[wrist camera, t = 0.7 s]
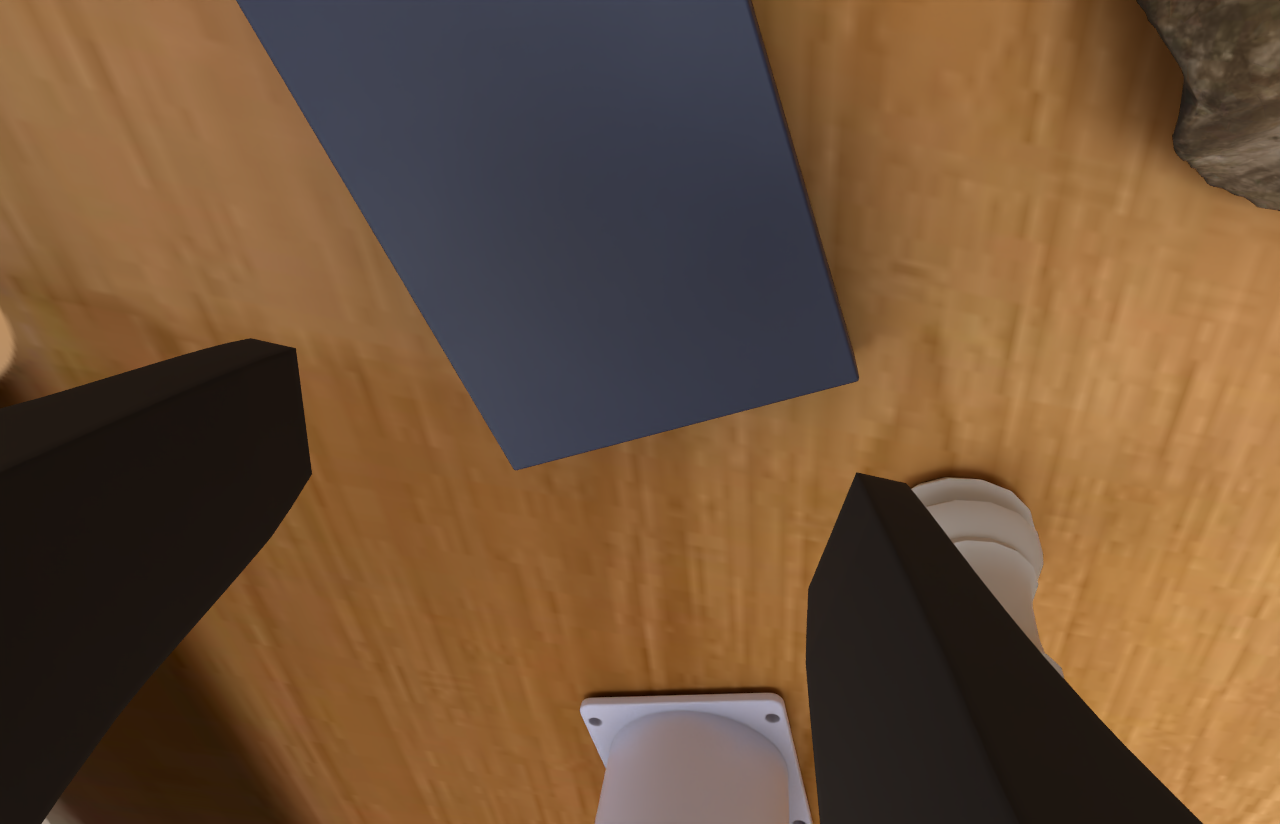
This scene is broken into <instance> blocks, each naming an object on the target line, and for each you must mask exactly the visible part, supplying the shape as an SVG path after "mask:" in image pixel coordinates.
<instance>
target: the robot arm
mask: <svg viewBox="0 0 1280 824" xmlns="http://www.w3.org/2000/svg"><path fill="white" fill-rule="evenodd" d="M311 475H312V470H311V463H310V455H309V447H308V439H307V432H306V424H305V416H304V408H303V401H302V393H301V385H300V377H299V370H298V362H297V354H296V348H292V347H287V346H283V345H278V344H274V343H269V342H265V341H260V340H256V339H251V338H250V339H245V340H240V341H235V342H230V343H226V344H222V345H218V346H214V347H210V348H206V349H203V350H199V351H196V352H192V353H189V354H185V355H182V356H178V357H175V358H171V359H168V360H165V361H161V362H158V363H155V364H151V365H148V366H145V367H141V368H138V369H135V370H131V371H128V372H125V373H122V374H118V375H115V376H112V377H108V378H105V379H102V380H98V381H95V382H92V383H88V384H85V385H82V386H79V387H75V388H72V389H69V390H65V391H62V392H59V393H55V394H52V395H48V396H45V397H41V398H38V399H34V400H30V401H27V402H23V403H20V404H16V405H12V406H9V407H5V408H1V409H0V824H42V822H43V821H44V819H45V818H46V816H47V815H48V813H49V812H50V810H51V809H52V807H53V806H54V805H55V803H56V802H57V800H58V799H59V797H60V796H61V794H62V793H63V792H64V790H65V789H66V787H67V786H68V785H69V783H70V782H71V780H72V779H73V778H74V776H75V775H76V774H77V772H78V771H79V769H80V768H81V767H82V765H83V764H84V762H85V761H86V760H87V758H88V757H89V755H90V754H91V753H92V751H93V750H94V749H95V747H96V746H97V744H98V743H99V742H100V740H101V739H102V737H103V736H104V735H105V733H106V732H107V730H108V729H109V728H110V726H111V725H112V724H113V722H114V721H115V719H116V718H117V717H118V715H119V714H120V713H121V712H122V710H123V709H124V708H125V707H126V706H127V704H128V703H129V702H130V701H131V699H132V698H133V697H134V696H135V694H136V693H137V692H138V691H139V689H140V688H141V687H142V686H143V685H144V683H145V682H146V681H147V680H148V679H149V677H150V676H151V675H152V674H153V673H154V672H155V671H156V669H157V668H158V667H159V666H160V665H161V664H162V663H163V661H164V660H165V659H166V658H167V657H168V656H169V655H170V653H171V652H172V651H173V650H174V649H175V648H176V647H177V645H178V644H179V643H180V642H181V641H182V640H183V639H184V637H185V636H186V635H187V634H188V633H189V632H190V631H191V629H192V628H193V627H194V626H195V625H196V624H197V623H198V621H199V620H200V619H201V618H202V617H203V616H204V615H205V613H206V612H207V611H208V610H209V609H210V608H211V607H212V605H213V604H214V603H215V602H216V601H217V600H218V599H219V597H220V596H221V595H222V594H223V593H224V592H225V591H226V589H227V588H228V587H229V586H230V585H231V584H232V582H233V581H234V580H235V579H236V578H237V577H238V576H239V574H240V573H241V572H242V571H243V570H244V569H245V567H246V566H247V565H248V564H249V563H250V562H251V560H252V559H253V558H254V557H255V556H256V555H257V553H258V552H259V551H260V550H261V549H262V547H263V546H264V545H265V544H266V543H267V541H268V540H269V539H270V538H271V537H272V535H273V534H274V532H275V531H276V529H277V528H278V526H279V525H280V523H281V522H282V520H283V519H284V517H285V516H286V514H287V513H288V511H289V510H290V509H291V507H292V505H293V504H294V502H295V500H296V499H297V497H298V496H299V494H300V492H301V491H302V489H303V488H304V486H305V484H306V483H307V481H308V480H309V478H310V476H311ZM806 671H807V684H808V696H809V707H810V719H811V730H812V741H813V751H814V762H815V773H816V783H817V794H818V805H819V816H820V824H1203V823H1202V822H1201V821H1200V820H1199V819H1198V818H1197V817H1196V816H1195V815H1194V814H1193V813H1192V812H1191V811H1190V810H1189V809H1188V808H1187V807H1186V806H1185V805H1184V804H1183V803H1182V802H1181V801H1180V800H1179V799H1178V798H1177V797H1176V796H1175V795H1174V794H1173V793H1172V792H1171V791H1170V790H1169V789H1168V788H1167V787H1166V786H1165V785H1164V784H1163V783H1162V782H1161V781H1160V780H1159V779H1158V778H1157V777H1156V776H1155V775H1154V774H1153V773H1152V772H1151V771H1150V770H1149V769H1148V768H1147V767H1146V766H1145V765H1144V764H1143V763H1142V762H1141V761H1140V760H1139V759H1138V758H1137V757H1136V756H1135V755H1134V754H1133V753H1132V752H1131V751H1130V750H1129V749H1128V748H1127V747H1126V746H1125V745H1124V744H1123V743H1122V742H1121V741H1120V740H1119V739H1118V738H1117V737H1116V736H1115V735H1114V733H1113V732H1112V731H1111V730H1110V729H1109V728H1108V727H1107V726H1106V725H1105V724H1104V723H1103V722H1102V721H1101V720H1100V719H1099V718H1098V716H1097V715H1096V714H1095V713H1094V712H1093V711H1092V710H1091V709H1090V708H1089V707H1088V705H1087V704H1086V703H1085V702H1084V701H1083V700H1082V699H1081V697H1080V696H1079V695H1078V694H1077V693H1076V692H1075V691H1074V690H1073V688H1072V687H1071V686H1070V685H1069V684H1068V683H1067V682H1066V681H1065V679H1064V678H1063V677H1062V676H1061V675H1060V674H1059V673H1058V672H1057V670H1056V669H1055V668H1054V667H1053V666H1052V665H1051V664H1050V662H1049V661H1048V660H1047V659H1046V658H1045V657H1044V656H1043V654H1042V653H1041V652H1040V651H1039V650H1038V648H1037V647H1036V646H1035V645H1034V644H1033V643H1032V641H1031V640H1030V639H1029V638H1028V637H1027V635H1026V634H1025V633H1024V632H1023V631H1022V629H1021V628H1020V627H1019V626H1018V625H1017V623H1016V622H1015V621H1014V620H1013V618H1012V617H1011V616H1010V615H1009V614H1008V612H1007V611H1006V610H1005V609H1004V607H1003V606H1002V605H1001V604H1000V602H999V601H998V600H997V599H996V597H995V596H994V595H993V594H992V592H991V591H990V590H989V589H988V587H987V586H986V585H985V584H984V582H983V581H982V580H981V578H980V577H979V576H978V575H977V573H976V572H975V571H974V569H973V568H972V567H971V566H970V564H969V563H968V562H967V560H966V559H965V558H964V557H963V555H962V554H961V553H960V551H959V550H958V549H957V547H956V546H955V545H954V543H953V542H952V541H951V540H950V538H949V537H948V536H947V534H946V533H945V532H944V530H943V529H942V528H941V526H940V525H939V524H938V523H937V521H936V520H935V519H934V517H933V516H932V515H931V513H930V512H929V511H928V509H927V508H926V507H925V506H924V504H923V503H922V502H921V501H920V499H919V498H918V497H917V496H916V494H915V493H914V492H913V491H912V490H911V488H910V487H909V486H908V485H907V484H906V483H902V482H897V481H893V480H888V479H884V478H879V477H875V476H870V475H866V474H861V473H857V472H856V475H855V477H854V480H853V482H852V485H851V487H850V489H849V492H848V494H847V497H846V499H845V501H844V504H843V506H842V509H841V511H840V514H839V516H838V518H837V521H836V523H835V526H834V528H833V530H832V533H831V535H830V538H829V540H828V543H827V545H826V547H825V550H824V552H823V555H822V557H821V559H820V562H819V564H818V567H817V569H816V571H815V574H814V576H813V579H812V581H811V584H810V586H809V589H808V610H807V635H806ZM580 713H581V715H582V718H583V720H584V722H585V724H586V726H587V728H588V731H589V733H590V735H591V737H592V739H593V742H594V744H595V746H596V748H597V750H598V752H599V755H600V757H601V759H602V761H603V763H604V765H605V768H606V772H605V776H604V781H603V786H602V791H601V796H600V800H599V805H598V810H597V815H596V820H595V824H813V822H812V817H811V813H810V809H809V805H808V801H807V796H806V792H805V788H804V784H803V779H802V775H801V771H800V767H799V763H798V758H797V754H796V750H795V746H794V742H793V737H792V733H791V729H790V725H789V720H788V716H787V712H786V708H785V704H784V700H783V699H782V697H780V696H779V695H777V694H774V693H736V694H701V695H666V696H631V697H596V698H587V699H585V700H583V701H582V704H581V707H580Z"/></svg>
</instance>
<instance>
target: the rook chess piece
mask: <svg viewBox="0 0 1280 824" xmlns="http://www.w3.org/2000/svg"><path fill="white" fill-rule="evenodd" d="M911 490H912V491H913V492H914V493H915V494H916V496H917V497H918V498H919V499H920V501H921V502H922V503H923V504H924V506H925V507H926V508H927V509H928V511H929V512H930V513H931V515H932V516H933V517H934V519H935V520H936V521H937V523H938V524H939V525H940V526H941V528H942V529H943V530H944V532H945V533H946V534H947V536H948V537H949V538H950V540H951V541H952V542H953V543H954V545H955V546H956V547H957V549H958V550H959V551H960V553H961V554H962V555H963V557H964V558H965V559H966V560H967V562H968V563H969V564H970V566H971V567H972V568H973V569H974V571H975V572H976V573H977V575H978V576H979V577H980V578H981V580H982V581H983V582H984V584H985V585H986V586H987V587H988V589H989V590H990V591H991V592H992V594H993V595H994V596H995V597H996V599H997V600H998V601H999V602H1000V604H1001V605H1002V606H1003V607H1004V609H1005V610H1006V611H1007V612H1008V614H1009V615H1010V616H1011V617H1012V618H1013V620H1014V621H1015V622H1016V623H1017V625H1018V626H1019V627H1020V628H1021V629H1022V631H1023V632H1024V633H1025V634H1026V635H1027V637H1028V638H1029V639H1030V640H1031V641H1032V643H1033V644H1034V645H1035V646H1036V647H1037V648H1038V650H1039V651H1040V652H1041V653H1042V654H1043V656H1044V657H1045V658H1046V659H1047V660H1048V661H1049V662H1050V664H1051V665H1052V666H1053V667H1054V668H1055V669H1056V670H1057V672H1058V673H1059V674H1060V675H1061V676H1062V677H1063V678H1064V676H1063V672H1062V668H1061V667H1060V666H1059V665H1058V664H1057V663H1056V662H1055V661H1053V660H1052V659H1051V658H1050V657H1049V656H1048V655H1047V654H1045V652H1044V650H1043V647H1042V645H1041V642H1040V640H1039V635H1038V630H1037V626H1036V621H1035V616H1034V611H1033V599H1034V596H1035V593H1036V590H1037V587H1038V582H1037V581H1038V578H1039V576H1040V573H1041V570H1042V567H1043V552H1042V548H1041V544H1040V541H1039V537H1038V533H1037V531H1036V530H1035V528H1034V524H1033V520H1032V516H1031V512H1030V509H1029V508H1028V507H1027V506H1026V505H1025V504H1024V503H1023V502H1022V501H1021V500H1020V499H1019V498H1018V497H1017V496H1016V495H1015V494H1014V493H1013V492H1012V491H1010V490H1007V489H1004V488H1002V487H999V486H997V485H994V484H992V483H989V482H987V481H984V480H980V479H973V478H954V477H944V478H940V479H936V480H932V481H928V482H924V483H920V484H918V485H916V486H915V487H913V488H911Z"/></svg>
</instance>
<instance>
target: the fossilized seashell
mask: <svg viewBox="0 0 1280 824" xmlns="http://www.w3.org/2000/svg"><path fill="white" fill-rule="evenodd" d="M1137 3H1138V4H1139V5H1140V6H1141V8H1142V9H1143V10H1144V11H1145V13H1146V15H1147V18H1148V21H1149V22H1150V23H1151V24H1152V25H1153V26H1154V27H1155V28H1156V30H1157V32H1158V34H1159V35H1160V37H1161V39H1162V40H1163V42H1164V43H1165V45H1166V46H1167V48H1168V49H1169V50H1170V52H1171V54H1172V55H1173V57H1174V58H1175V60H1176V61H1177V63H1178V64H1179V66H1180V68H1181V69H1182V73H1183V76H1184V84H1183V91H1182V98H1181V105H1180V112H1179V117H1178V120H1177V124H1176V127H1175V130H1174V133H1173V135H1172V137H1173V145H1174V150H1175V152H1176V154H1177V155H1178V156H1179V157H1180V158H1181V159H1182V160H1183V161H1187V162H1188V163H1189V165H1190V167H1191V168H1195V169H1196V170H1197V172H1198V173H1199V174H1200V175H1201V177H1204V179H1205V181H1206V183H1207V184H1209V185H1211V186H1213V187H1220V188H1223V189H1225V190H1227V191H1229V192H1230V193H1232V194H1234V195H1237V196H1241V197H1245V198H1246V199H1248V200H1249V201H1251V202H1252V203H1254V204H1255V205H1256V206H1257V207H1260V208H1266V209H1273V210H1278V211H1280V0H1137Z"/></svg>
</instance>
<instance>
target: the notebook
mask: <svg viewBox="0 0 1280 824" xmlns="http://www.w3.org/2000/svg"><path fill="white" fill-rule="evenodd" d="M236 1H237V3H238V4H239V6H240V8H241V9H242V11H243V13H244V14H245V16H246V18H247V19H248V21H249V23H250V25H251V26H252V28H253V30H254V31H255V33H256V35H257V36H258V38H259V40H260V41H261V43H262V45H263V47H264V48H265V50H266V52H267V53H268V55H269V57H270V58H271V60H272V62H273V63H274V65H275V67H276V68H277V70H278V72H279V74H280V75H281V77H282V79H283V80H284V82H285V84H286V85H287V87H288V89H289V90H290V92H291V94H292V95H293V97H294V99H295V101H296V102H297V104H298V106H299V107H300V109H301V111H302V112H303V114H304V116H305V117H306V119H307V121H308V123H309V124H310V126H311V128H312V129H313V131H314V133H315V134H316V136H317V138H318V139H319V141H320V143H321V144H322V146H323V148H324V150H325V151H326V153H327V155H328V156H329V158H330V160H331V161H332V163H333V165H334V166H335V168H336V170H337V172H338V173H339V175H340V177H341V178H342V180H343V182H344V183H345V185H346V187H347V188H348V190H349V192H350V193H351V195H352V197H353V199H354V200H355V202H356V204H357V205H358V207H359V209H360V210H361V212H362V214H363V215H364V217H365V219H366V220H367V222H368V224H369V226H370V227H371V229H372V231H373V232H374V234H375V236H376V237H377V239H378V241H379V242H380V244H381V246H382V248H383V249H384V251H385V253H386V254H387V256H388V258H389V259H390V261H391V263H392V264H393V266H394V268H395V269H396V271H397V273H398V275H399V276H400V278H401V280H402V281H403V283H404V285H405V286H406V288H407V290H408V291H409V293H410V295H411V297H412V298H413V300H414V302H415V303H416V305H417V307H418V308H419V310H420V312H421V313H422V315H423V317H424V318H425V320H426V322H427V324H428V325H429V327H430V329H431V330H432V332H433V334H434V335H435V337H436V339H437V340H438V342H439V344H440V345H441V347H442V349H443V351H444V352H445V354H446V356H447V357H448V359H449V361H450V362H451V364H452V366H453V367H454V369H455V371H456V373H457V374H458V376H459V378H460V379H461V381H462V383H463V384H464V386H465V388H466V389H467V391H468V393H469V394H470V396H471V398H472V400H473V401H474V403H475V405H476V406H477V408H478V410H479V411H480V413H481V415H482V416H483V418H484V420H485V422H486V423H487V425H488V427H489V428H490V430H491V432H492V433H493V435H494V437H495V438H496V440H497V442H498V443H499V445H500V447H501V449H502V450H503V452H504V454H505V455H506V457H507V459H508V460H509V462H510V464H511V465H512V467H513V469H514V470H519V469H523V468H527V467H531V466H535V465H539V464H542V463H546V462H550V461H554V460H558V459H562V458H565V457H569V456H573V455H577V454H581V453H585V452H588V451H592V450H596V449H600V448H604V447H607V446H611V445H615V444H619V443H623V442H627V441H630V440H634V439H638V438H642V437H646V436H650V435H653V434H657V433H661V432H665V431H669V430H673V429H676V428H680V427H684V426H688V425H692V424H696V423H699V422H703V421H707V420H711V419H715V418H719V417H722V416H726V415H730V414H734V413H738V412H742V411H745V410H749V409H753V408H757V407H761V406H765V405H768V404H772V403H776V402H780V401H784V400H787V399H791V398H795V397H799V396H803V395H807V394H810V393H814V392H818V391H822V390H826V389H830V388H833V387H837V386H841V385H845V384H849V383H853V382H856V381H858V380H859V375H858V370H857V365H856V360H855V356H854V352H853V348H852V345H851V341H850V338H849V334H848V331H847V328H846V324H845V321H844V317H843V314H842V310H841V307H840V304H839V300H838V297H837V293H836V290H835V286H834V283H833V280H832V276H831V273H830V269H829V266H828V262H827V259H826V256H825V252H824V249H823V245H822V242H821V238H820V235H819V231H818V228H817V225H816V221H815V218H814V214H813V211H812V207H811V204H810V201H809V197H808V194H807V190H806V187H805V183H804V180H803V177H802V173H801V170H800V166H799V163H798V159H797V156H796V153H795V149H794V146H793V142H792V139H791V135H790V132H789V129H788V125H787V122H786V118H785V115H784V111H783V108H782V105H781V101H780V98H779V94H778V91H777V87H776V84H775V80H774V77H773V74H772V70H771V67H770V63H769V60H768V56H767V53H766V50H765V46H764V43H763V39H762V36H761V32H760V29H759V26H758V22H757V19H756V15H755V12H754V8H753V5H752V2H751V0H236Z"/></svg>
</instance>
